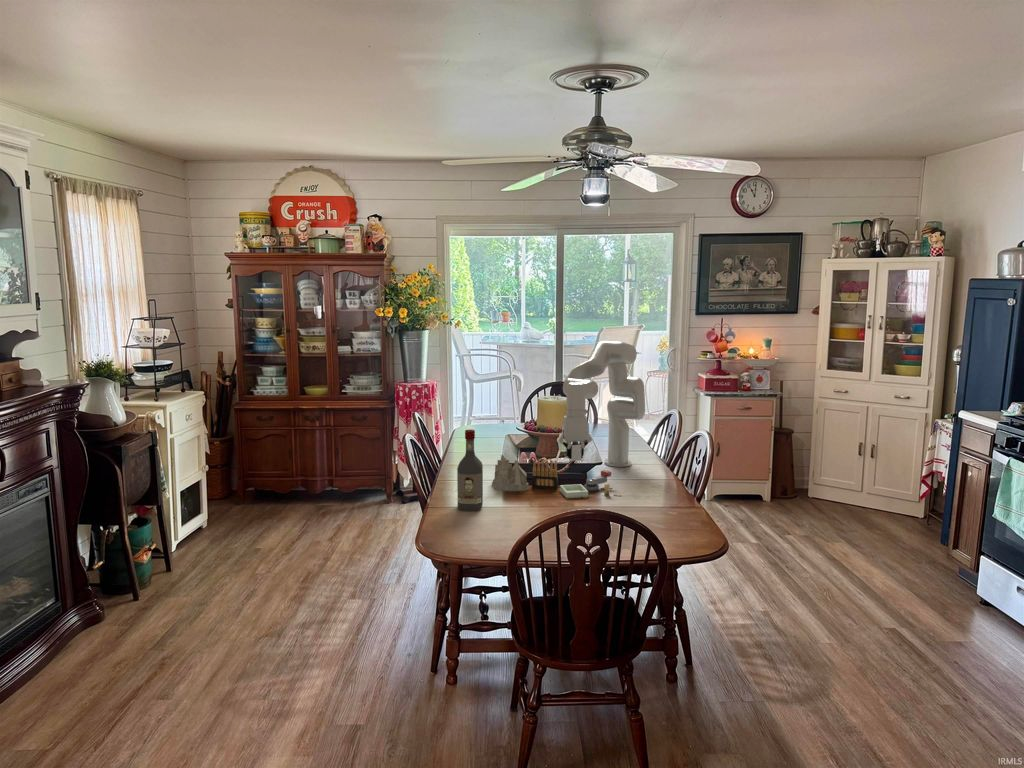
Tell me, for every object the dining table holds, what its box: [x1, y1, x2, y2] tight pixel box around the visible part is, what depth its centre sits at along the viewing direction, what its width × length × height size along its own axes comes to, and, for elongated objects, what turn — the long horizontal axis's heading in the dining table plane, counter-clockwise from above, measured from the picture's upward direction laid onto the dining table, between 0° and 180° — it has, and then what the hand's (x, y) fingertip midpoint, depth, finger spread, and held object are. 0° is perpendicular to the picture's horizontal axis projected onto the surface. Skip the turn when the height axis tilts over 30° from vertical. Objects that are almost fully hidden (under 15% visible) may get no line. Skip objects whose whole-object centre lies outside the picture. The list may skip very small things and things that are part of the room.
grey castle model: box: [491, 454, 530, 492], centre depth 287 cm, size 16×16×15 cm
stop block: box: [569, 441, 582, 462], centre depth 274 cm, size 4×4×7 cm
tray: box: [559, 483, 589, 499], centre depth 277 cm, size 10×9×2 cm
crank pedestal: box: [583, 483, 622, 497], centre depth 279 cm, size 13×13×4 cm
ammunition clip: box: [531, 459, 559, 490], centre depth 284 cm, size 11×2×12 cm, turn 79°
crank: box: [585, 469, 612, 487], centre depth 284 cm, size 12×4×4 cm, turn 131°
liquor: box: [456, 429, 484, 512], centre depth 258 cm, size 9×9×30 cm
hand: (574, 457), depth 274 cm, fingers closed on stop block, 4 cm apart
